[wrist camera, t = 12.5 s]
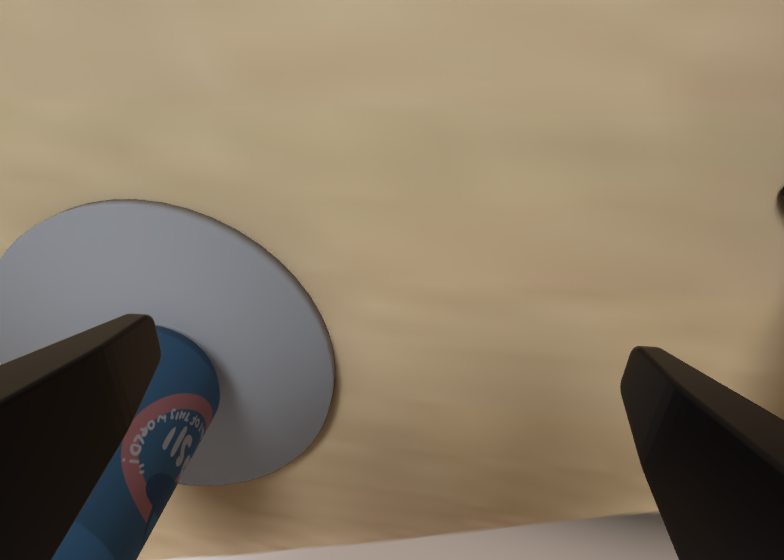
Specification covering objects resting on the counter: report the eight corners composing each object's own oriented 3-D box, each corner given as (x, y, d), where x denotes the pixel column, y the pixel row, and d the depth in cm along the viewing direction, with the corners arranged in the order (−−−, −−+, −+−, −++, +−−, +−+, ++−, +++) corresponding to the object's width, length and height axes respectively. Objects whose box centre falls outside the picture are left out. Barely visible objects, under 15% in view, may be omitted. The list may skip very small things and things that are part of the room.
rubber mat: (404, 373, 26) (403, 386, 25) (205, 510, 32) (198, 524, 31) (117, 114, 20) (104, 118, 19) (-53, 342, 27) (-70, 352, 26)
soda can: (235, 422, 27) (112, 681, 16) (114, 412, 27) (-86, 661, 16) (220, 317, 23) (53, 556, 13) (82, 307, 24) (-193, 533, 13)
